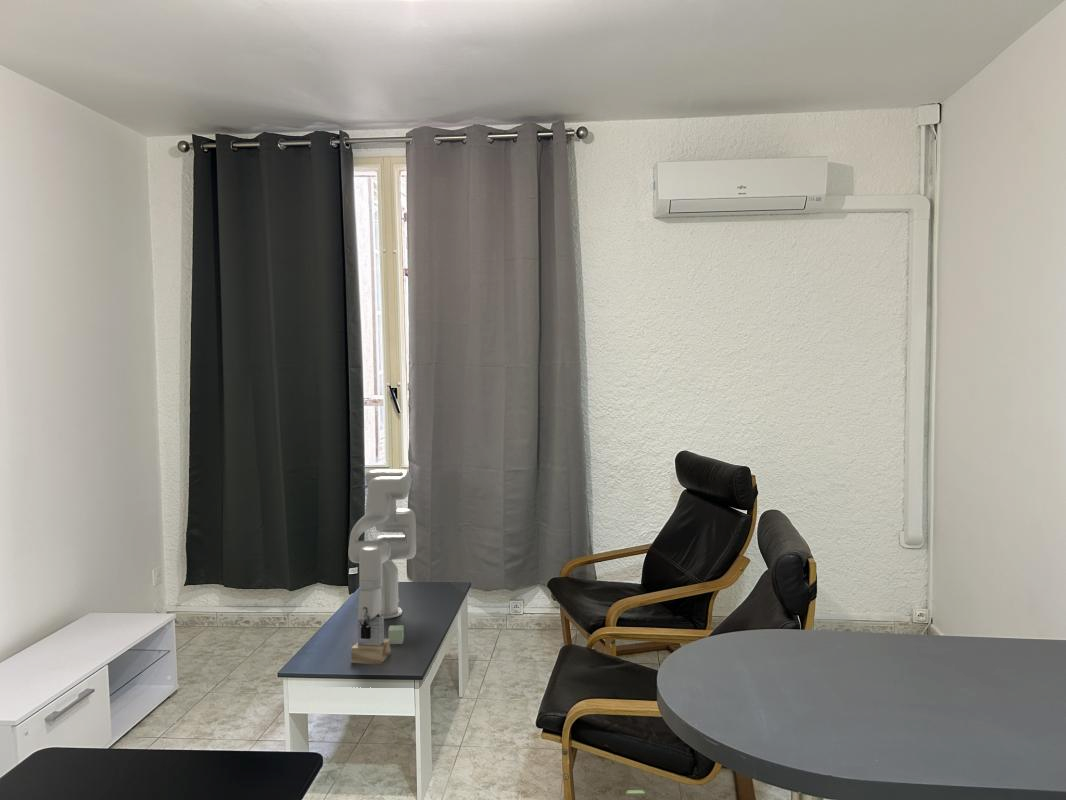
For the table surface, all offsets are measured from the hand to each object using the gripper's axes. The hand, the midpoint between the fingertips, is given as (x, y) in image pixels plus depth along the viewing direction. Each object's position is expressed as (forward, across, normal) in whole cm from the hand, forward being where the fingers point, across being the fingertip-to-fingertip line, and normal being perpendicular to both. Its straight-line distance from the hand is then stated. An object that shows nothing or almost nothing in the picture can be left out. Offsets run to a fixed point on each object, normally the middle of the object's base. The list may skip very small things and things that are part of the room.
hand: (371, 633), depth 253 cm
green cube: (+9, -16, +3) cm, 18 cm away
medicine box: (+4, 0, 0) cm, 4 cm away
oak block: (+8, 0, 0) cm, 8 cm away
